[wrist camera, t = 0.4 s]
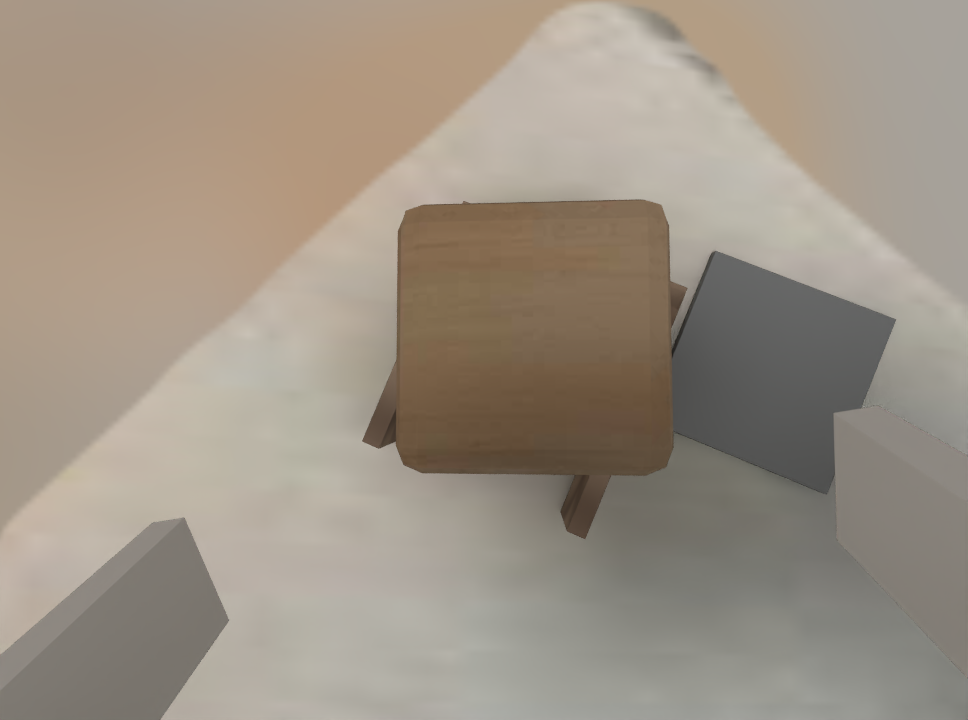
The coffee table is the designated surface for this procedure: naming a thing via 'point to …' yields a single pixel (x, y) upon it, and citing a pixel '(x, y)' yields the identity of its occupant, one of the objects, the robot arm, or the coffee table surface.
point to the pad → (772, 368)
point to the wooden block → (534, 338)
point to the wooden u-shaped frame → (584, 487)
